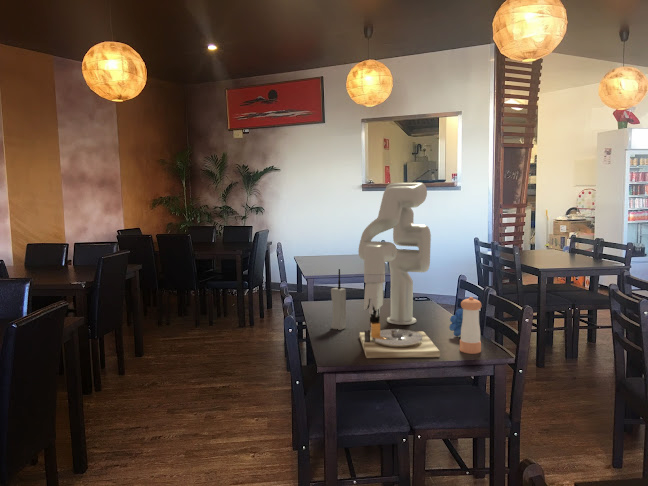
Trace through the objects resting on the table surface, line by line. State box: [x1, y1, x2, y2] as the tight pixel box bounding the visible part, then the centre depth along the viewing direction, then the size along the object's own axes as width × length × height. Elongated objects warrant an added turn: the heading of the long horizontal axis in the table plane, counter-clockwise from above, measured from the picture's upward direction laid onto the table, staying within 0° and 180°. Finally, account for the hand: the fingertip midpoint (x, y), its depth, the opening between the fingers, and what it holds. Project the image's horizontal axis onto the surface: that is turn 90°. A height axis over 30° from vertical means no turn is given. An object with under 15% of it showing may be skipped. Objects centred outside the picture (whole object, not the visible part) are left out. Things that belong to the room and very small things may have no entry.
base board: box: [359, 329, 441, 359], centre depth 184 cm, size 25×25×6 cm
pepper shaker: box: [459, 296, 483, 355], centre depth 178 cm, size 7×7×19 cm
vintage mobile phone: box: [330, 268, 347, 331], centre depth 208 cm, size 4×5×25 cm
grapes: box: [448, 308, 480, 337], centre depth 196 cm, size 12×7×12 cm, turn 90°
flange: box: [370, 322, 422, 347], centre depth 183 cm, size 18×18×6 cm
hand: (374, 326), depth 186 cm, fingers closed
